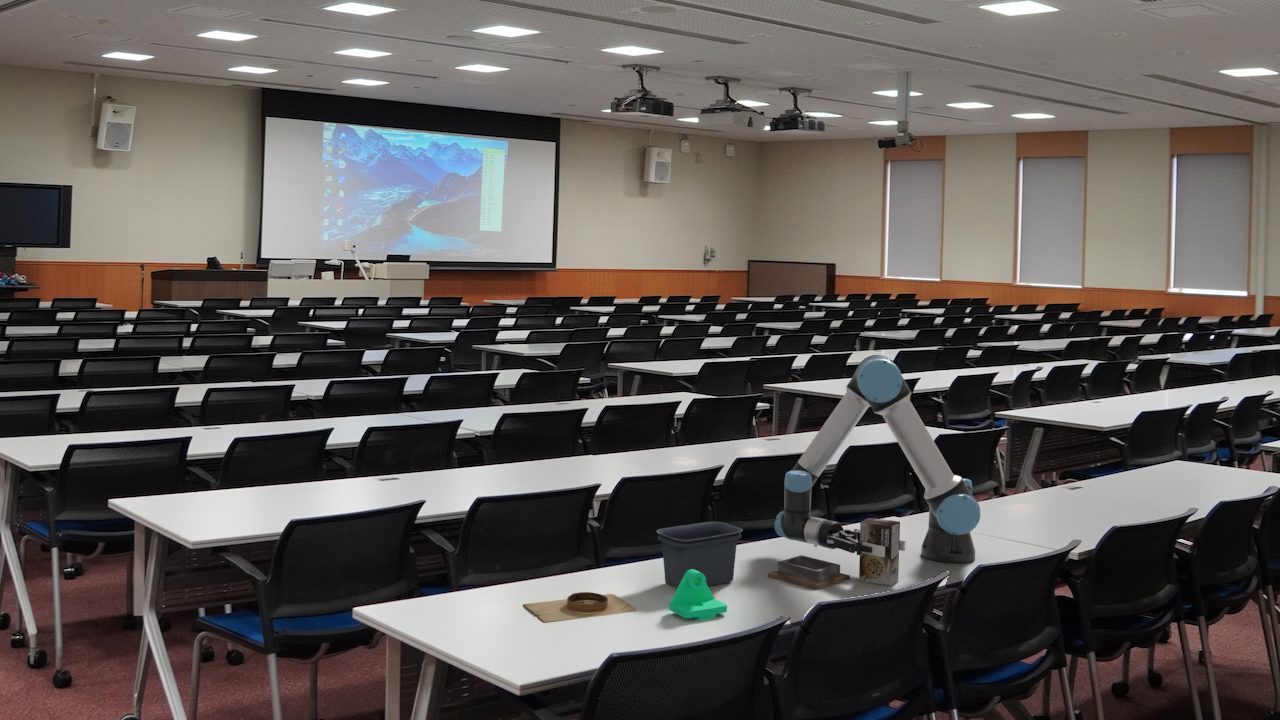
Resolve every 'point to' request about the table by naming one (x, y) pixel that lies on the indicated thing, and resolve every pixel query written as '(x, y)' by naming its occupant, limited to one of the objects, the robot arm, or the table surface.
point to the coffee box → (887, 536)
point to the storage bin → (700, 551)
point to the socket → (808, 572)
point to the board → (579, 607)
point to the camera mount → (695, 598)
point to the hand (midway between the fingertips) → (894, 548)
